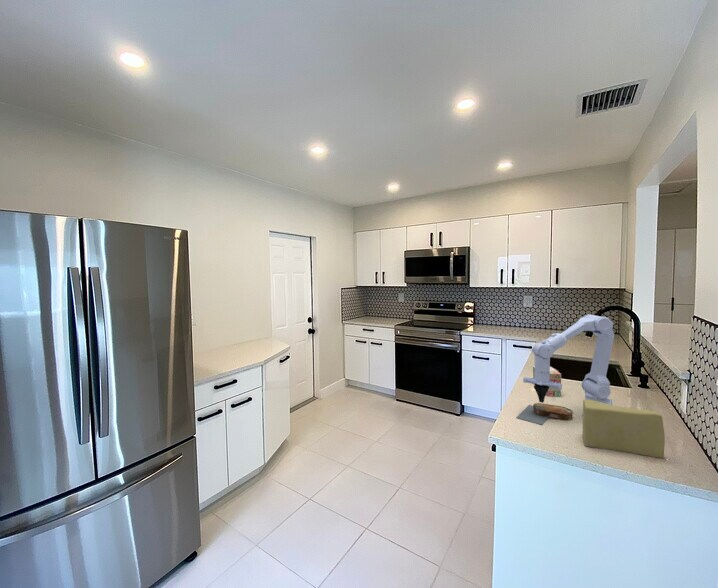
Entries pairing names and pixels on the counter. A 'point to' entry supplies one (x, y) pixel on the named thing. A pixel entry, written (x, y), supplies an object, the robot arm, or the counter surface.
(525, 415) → the mat
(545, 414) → the tin
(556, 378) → the printed cardboard box
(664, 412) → the counter surface
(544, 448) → the counter surface
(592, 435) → the cheese
